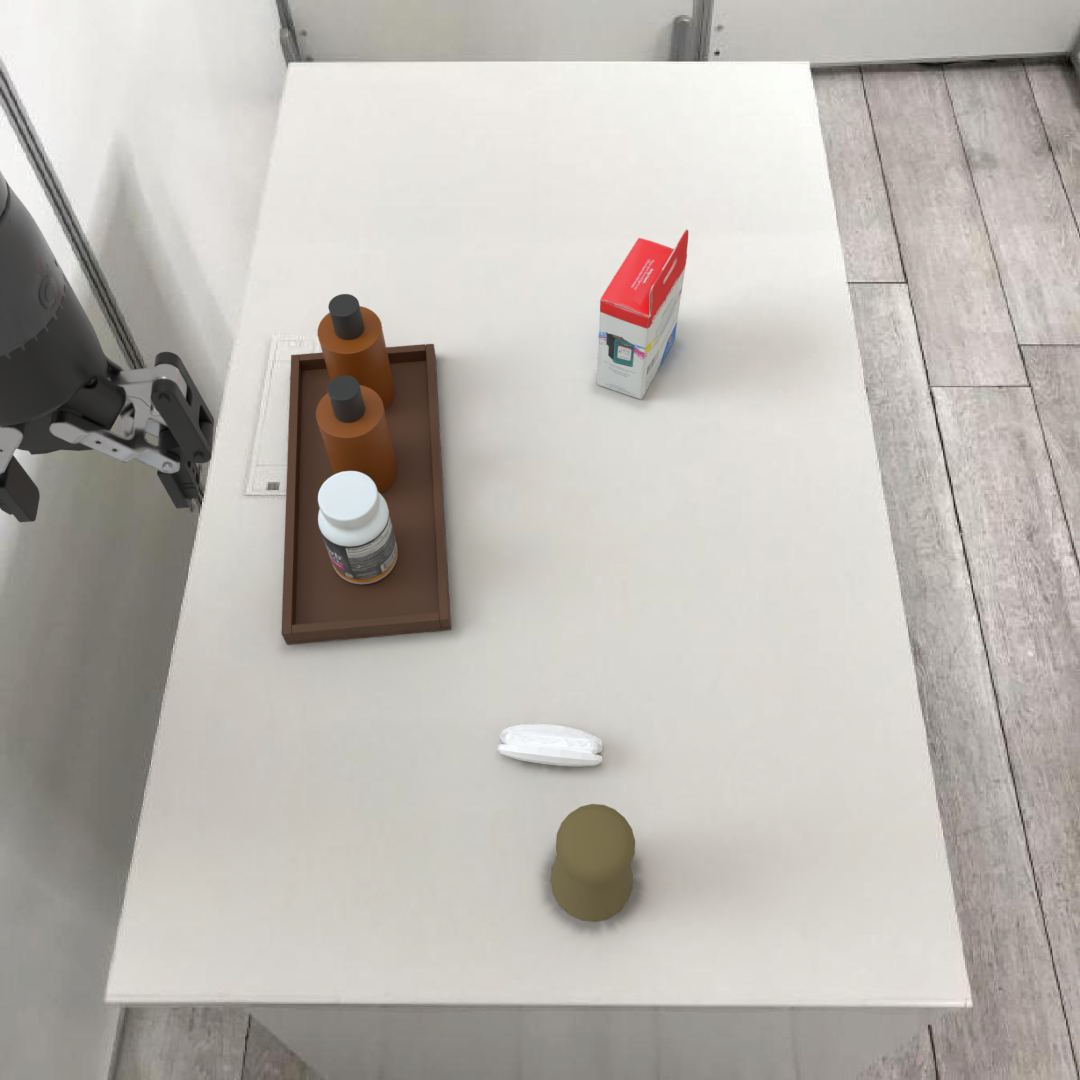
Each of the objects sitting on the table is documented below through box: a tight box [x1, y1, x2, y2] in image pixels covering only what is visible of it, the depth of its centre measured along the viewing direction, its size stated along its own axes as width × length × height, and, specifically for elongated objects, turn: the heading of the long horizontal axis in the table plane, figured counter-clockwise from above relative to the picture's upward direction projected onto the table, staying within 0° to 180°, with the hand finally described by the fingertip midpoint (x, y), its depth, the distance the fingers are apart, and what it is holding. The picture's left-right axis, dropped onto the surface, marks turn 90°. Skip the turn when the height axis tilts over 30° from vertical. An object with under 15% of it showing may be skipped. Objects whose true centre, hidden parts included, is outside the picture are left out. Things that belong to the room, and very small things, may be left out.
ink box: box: [596, 228, 689, 400], centre depth 97 cm, size 8×5×15 cm, turn 154°
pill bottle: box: [318, 471, 398, 584], centre depth 87 cm, size 6×6×10 cm
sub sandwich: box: [497, 723, 604, 768], centre depth 82 cm, size 3×8×3 cm, turn 83°
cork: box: [549, 803, 636, 923], centre depth 73 cm, size 6×6×11 cm
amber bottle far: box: [317, 293, 395, 410], centre depth 96 cm, size 6×6×12 cm
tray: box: [280, 343, 452, 645], centre depth 95 cm, size 14×30×2 cm, turn 5°
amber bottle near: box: [316, 375, 397, 494], centre depth 91 cm, size 6×6×12 cm
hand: (108, 501), depth 59 cm, fingers open, 8 cm apart
